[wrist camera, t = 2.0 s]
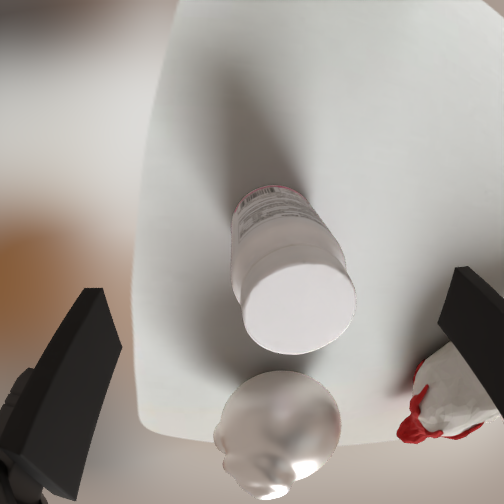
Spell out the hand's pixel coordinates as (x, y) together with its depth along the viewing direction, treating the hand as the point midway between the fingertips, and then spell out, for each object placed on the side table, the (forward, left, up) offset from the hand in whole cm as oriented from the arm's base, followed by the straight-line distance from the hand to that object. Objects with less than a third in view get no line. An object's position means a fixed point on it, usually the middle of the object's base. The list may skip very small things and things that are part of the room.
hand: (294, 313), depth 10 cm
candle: (+15, +17, -8) cm, 24 cm away
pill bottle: (0, 0, -8) cm, 8 cm away
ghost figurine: (+14, 0, -8) cm, 16 cm away
